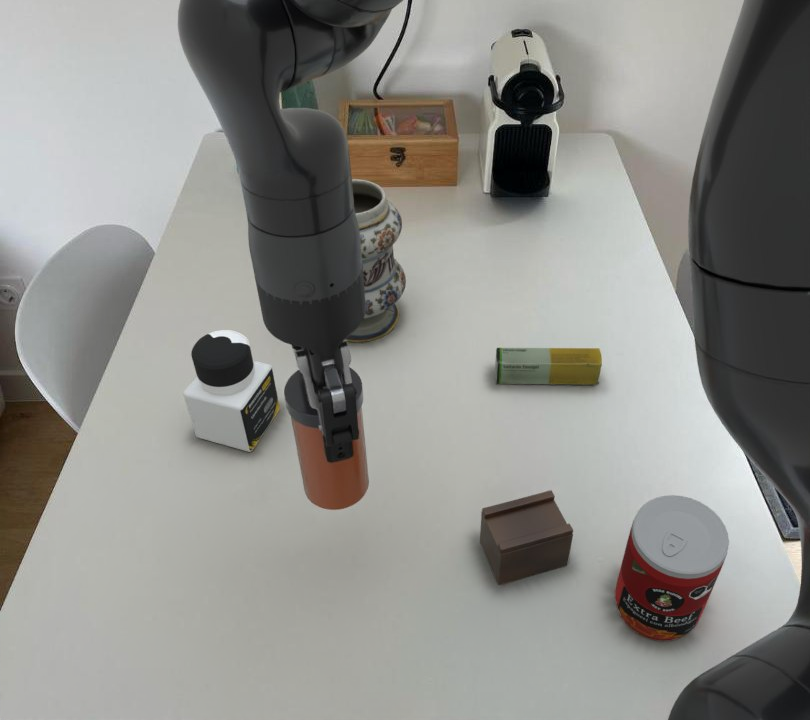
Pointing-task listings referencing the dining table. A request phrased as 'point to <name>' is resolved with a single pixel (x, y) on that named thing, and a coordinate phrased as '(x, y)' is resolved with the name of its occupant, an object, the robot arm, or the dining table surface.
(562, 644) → the dining table surface
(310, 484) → the jar
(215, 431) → the medicine bottle
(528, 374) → the medication box
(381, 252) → the apothecary jar
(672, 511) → the canned food
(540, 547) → the block
